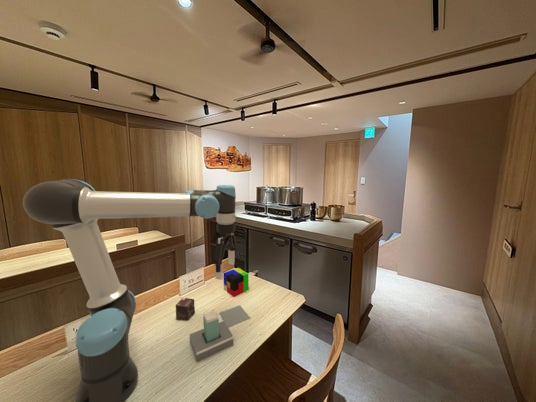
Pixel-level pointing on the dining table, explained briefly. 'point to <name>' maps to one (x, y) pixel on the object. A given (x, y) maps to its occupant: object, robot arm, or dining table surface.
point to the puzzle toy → (236, 282)
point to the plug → (211, 326)
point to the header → (205, 350)
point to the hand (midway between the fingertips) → (225, 271)
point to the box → (185, 309)
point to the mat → (234, 316)
